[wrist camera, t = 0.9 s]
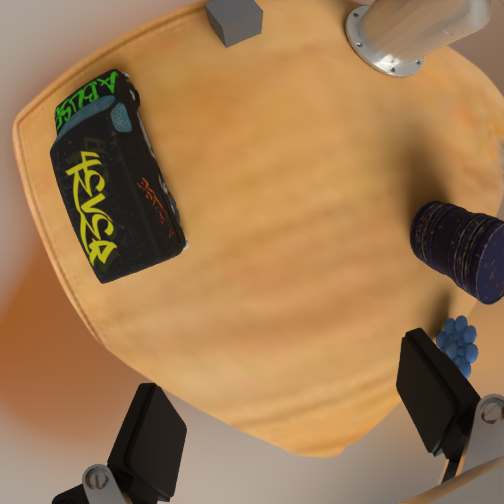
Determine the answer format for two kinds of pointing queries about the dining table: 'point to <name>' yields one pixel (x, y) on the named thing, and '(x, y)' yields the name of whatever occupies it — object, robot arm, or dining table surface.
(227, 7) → the grey block
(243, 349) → the dining table surface
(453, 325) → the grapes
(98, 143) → the toy van
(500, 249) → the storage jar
